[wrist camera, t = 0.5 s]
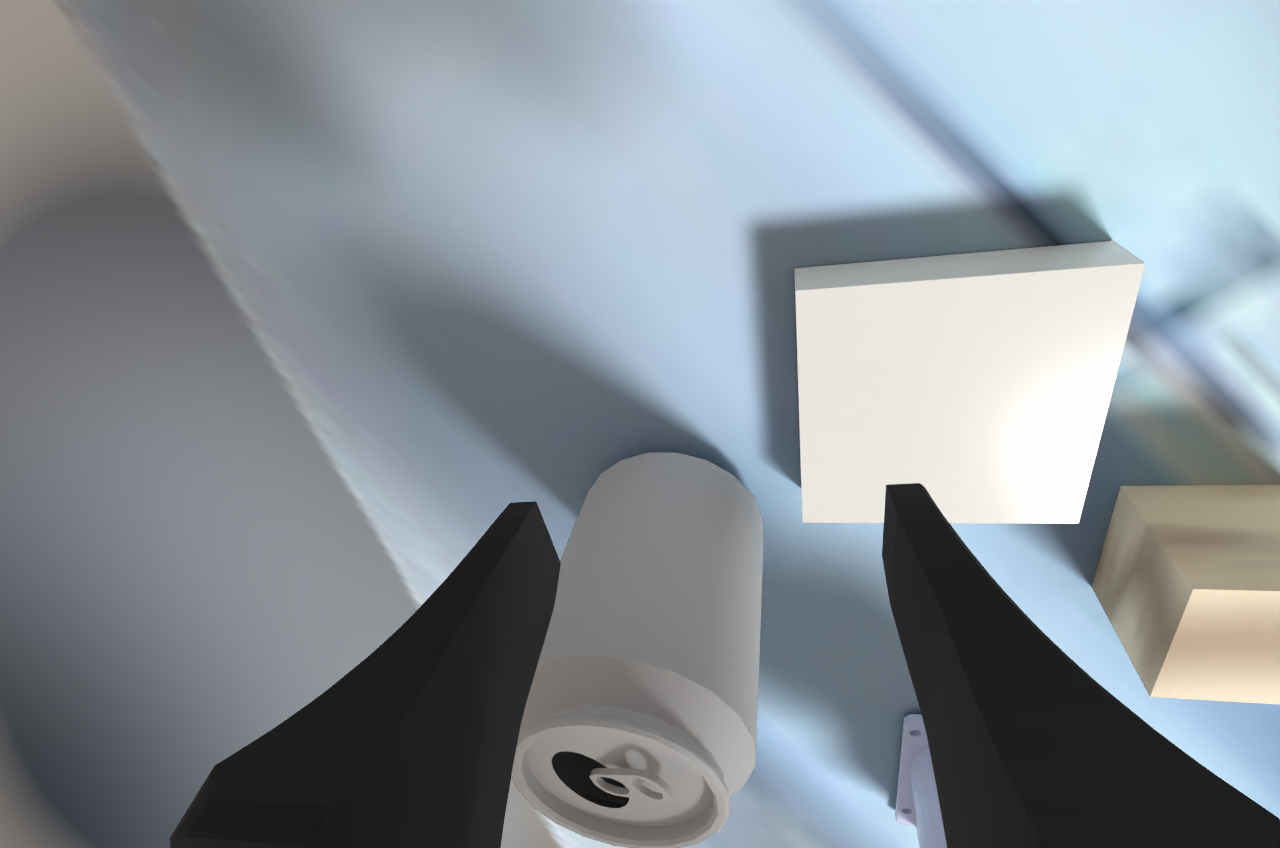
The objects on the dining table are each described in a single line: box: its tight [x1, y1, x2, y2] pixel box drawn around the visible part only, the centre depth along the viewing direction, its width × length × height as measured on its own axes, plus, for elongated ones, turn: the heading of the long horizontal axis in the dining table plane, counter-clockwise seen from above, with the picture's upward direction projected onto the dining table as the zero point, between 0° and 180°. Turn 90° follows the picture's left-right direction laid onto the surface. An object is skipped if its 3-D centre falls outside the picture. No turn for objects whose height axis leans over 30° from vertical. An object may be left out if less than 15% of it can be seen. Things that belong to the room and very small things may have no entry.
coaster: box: [794, 241, 1145, 524], centre depth 21 cm, size 9×9×2 cm
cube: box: [1092, 485, 1280, 704], centre depth 22 cm, size 5×5×5 cm
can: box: [511, 452, 764, 848], centre depth 22 cm, size 8×8×12 cm
